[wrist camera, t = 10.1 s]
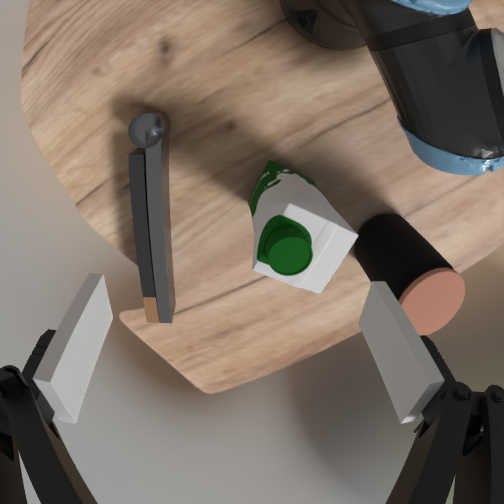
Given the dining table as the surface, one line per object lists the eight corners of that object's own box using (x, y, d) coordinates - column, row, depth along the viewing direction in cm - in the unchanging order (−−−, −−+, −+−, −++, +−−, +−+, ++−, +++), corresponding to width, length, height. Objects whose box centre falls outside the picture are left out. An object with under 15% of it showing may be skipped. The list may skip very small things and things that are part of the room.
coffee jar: (344, 264, 53) (384, 339, 37) (361, 206, 47) (416, 268, 32) (397, 268, 54) (444, 336, 38) (415, 214, 49) (477, 272, 33)
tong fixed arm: (139, 110, 38) (128, 114, 34) (170, 109, 39) (162, 113, 34) (152, 302, 54) (147, 321, 50) (176, 304, 55) (172, 323, 50)
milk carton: (265, 151, 43) (290, 202, 25) (321, 178, 45) (376, 243, 28) (239, 205, 46) (244, 286, 29) (293, 228, 49) (327, 314, 31)
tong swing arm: (138, 147, 41) (128, 155, 37) (152, 147, 41) (143, 154, 37) (152, 303, 54) (147, 321, 50) (163, 304, 54) (159, 322, 50)
